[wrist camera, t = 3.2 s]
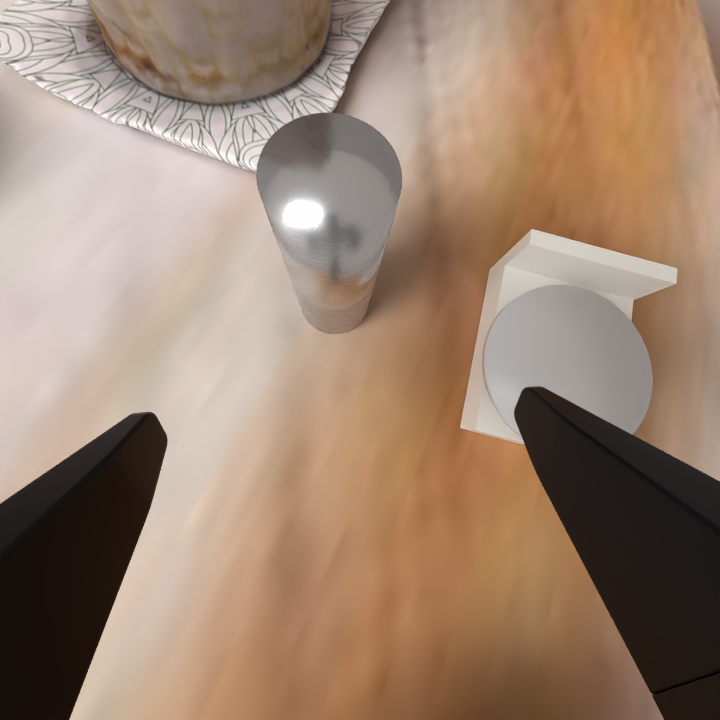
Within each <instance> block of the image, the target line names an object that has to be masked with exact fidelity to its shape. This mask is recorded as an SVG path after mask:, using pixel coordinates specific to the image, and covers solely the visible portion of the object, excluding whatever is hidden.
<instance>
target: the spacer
mask: <svg viewBox="0 0 720 720" xmlns="http://www.w3.org/2000/svg"><path fill="white" fill-rule="evenodd" d="M256 174H257V185H258V190H259V193H260V196H261V199H262V202H263V204H264V207H265V210H266V213H267V215H268V218H269V221H270V224H271V226H272V229H273V232H274V235H275V237H276V240H277V243H278V246H279V248H280V251H281V254H282V257H283V260H284V262H285V265H286V268H287V271H288V273H289V276H290V279H291V282H292V284H293V287H294V290H295V293H296V295H297V298H298V301H299V304H300V306H301V309H302V312H303V314H304V316H305V318H306V320H307V321H308V322H309V323H310V324H311V325H312V326H313V327H314V328H316V329H317V330H319V331H321V332H324V333H329V334H341V333H345V332H348V331H350V330H352V329H354V328H355V327H357V326H358V325H359V324H360V323H361V322H362V320H363V319H364V317H365V315H366V313H367V310H368V306H369V303H370V299H371V296H372V292H373V289H374V285H375V282H376V278H377V275H378V271H379V268H380V264H381V261H382V257H383V253H384V250H385V246H386V243H387V239H388V236H389V232H390V229H391V225H392V222H393V218H394V215H395V211H396V208H397V204H398V201H399V197H400V194H401V188H402V172H401V167H400V163H399V160H398V157H397V155H396V153H395V151H394V149H393V148H392V146H391V145H390V143H389V142H388V141H387V139H386V138H385V137H384V136H383V135H382V134H381V133H380V132H378V131H377V130H376V129H375V128H373V127H372V126H370V125H369V124H367V123H365V122H363V121H361V120H359V119H357V118H354V117H351V116H348V115H343V114H338V113H315V114H309V115H305V116H302V117H299V118H296V119H294V120H292V121H290V122H288V123H286V124H285V125H283V126H282V127H281V128H279V129H278V130H277V131H276V132H275V133H274V134H273V135H272V136H271V137H270V138H269V140H268V141H267V142H266V144H265V146H264V147H263V149H262V151H261V154H260V156H259V160H258V164H257V172H256Z"/></svg>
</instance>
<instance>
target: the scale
mask: <svg viewBox="0 0 720 720" xmlns="http://www.w3.org/2000/svg"><path fill="white" fill-rule="evenodd" d="M676 282H677V268H674V267H670V266H666V265H663V264H659V263H655V262H652V261H648V260H644V259H641V258H637V257H633V256H630V255H626V254H622V253H619V252H615V251H611V250H608V249H604V248H600V247H597V246H593V245H589V244H585V243H582V242H578V241H574V240H571V239H567V238H563V237H560V236H556V235H552V234H549V233H545V232H541V231H538V230H534V229H531V230H530V231H529V232H528V233H527V234H526V235H525V236H524V237H523V238H522V239H521V240H520V241H519V242H518V243H517V244H516V245H515V246H513V247H512V248H511V249H510V250H509V251H508V252H507V253H506V254H505V255H504V256H503V257H502V258H501V259H500V260H499V261H498V262H497V263H496V264H495V265H493V266H492V267H491V268H490V270H489V275H488V280H487V286H486V291H485V296H484V302H483V307H482V313H481V318H480V323H479V329H478V334H477V339H476V345H475V350H474V355H473V361H472V366H471V371H470V377H469V382H468V387H467V393H466V398H465V403H464V409H463V414H462V419H461V425H460V428H461V429H465V430H469V431H473V432H476V433H480V434H484V435H488V436H492V437H496V438H500V439H504V440H508V441H512V442H516V443H520V444H524V441H523V439H522V436H521V434H520V431H519V429H518V426H517V424H516V421H515V418H514V409H515V406H516V404H517V401H518V399H519V396H520V394H521V391H522V390H523V389H524V388H525V387H533V386H541V387H544V388H546V389H548V390H550V391H552V392H553V393H555V394H557V395H559V396H561V397H563V398H565V399H566V400H568V401H570V402H572V403H574V404H576V405H578V406H580V407H581V408H583V409H585V410H587V411H589V412H591V413H593V414H594V415H596V416H598V417H600V418H602V419H604V420H606V421H608V422H609V423H611V424H613V425H615V426H617V427H619V428H621V429H623V430H624V431H626V432H628V433H630V434H632V435H633V434H634V432H635V431H636V430H637V429H638V428H639V426H640V424H641V423H642V421H643V420H644V418H645V415H646V413H647V411H648V408H649V405H650V401H651V396H652V390H653V374H652V366H651V361H650V357H649V354H648V351H647V348H646V345H645V343H644V341H643V339H642V337H641V335H640V333H639V332H638V330H637V329H636V327H635V326H634V324H633V323H632V322H631V321H632V310H633V300H635V299H638V298H641V297H643V296H646V295H648V294H651V293H654V292H656V291H659V290H662V289H664V288H667V287H670V286H672V285H675V284H676ZM524 445H525V444H524Z"/></svg>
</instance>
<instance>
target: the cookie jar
mask: <svg viewBox="0 0 720 720" xmlns="http://www.w3.org/2000/svg"><path fill="white" fill-rule="evenodd" d="M389 2H390V0H17V2H16V3H14V4H13V5H11V6H10V7H9V8H8V9H5V10H4V14H3V15H0V61H1V62H3V63H5V64H7V65H8V66H10V67H12V68H13V69H14V70H16V71H17V72H18V73H20V74H21V75H22V76H24V77H26V78H27V79H29V80H31V81H32V82H34V83H35V84H37V85H38V86H40V87H42V88H43V89H45V90H46V91H48V92H49V93H51V94H53V95H55V96H57V97H59V98H62V99H64V100H67V101H70V102H72V103H74V104H75V105H77V106H78V107H82V108H86V109H91V110H93V111H94V112H95V113H96V114H98V115H100V116H102V117H104V118H106V119H108V120H110V121H111V122H113V123H115V124H125V125H128V126H131V127H134V128H136V129H139V130H142V131H144V132H147V133H149V134H152V135H154V136H157V137H159V138H162V139H164V140H167V141H169V142H172V143H174V144H177V145H179V146H182V147H184V148H187V149H190V150H193V151H195V152H198V153H201V154H204V155H207V156H209V157H212V158H215V159H218V160H221V161H224V162H226V163H229V164H231V165H234V166H237V167H239V168H242V169H245V170H247V171H250V172H253V173H256V172H257V164H258V160H259V156H260V154H261V151H262V149H263V147H264V146H265V144H266V142H267V141H268V140H269V138H270V137H271V136H272V135H273V134H274V133H275V132H276V131H277V130H278V129H279V128H281V127H282V126H283V125H285V124H286V123H288V122H290V121H292V120H294V119H296V118H299V117H302V116H305V115H309V114H315V113H332V112H333V110H334V109H335V108H336V106H337V104H338V101H339V99H340V97H341V96H342V94H343V92H344V91H345V86H346V82H347V79H348V76H349V73H350V69H351V67H352V65H353V63H354V62H355V60H356V58H357V56H358V54H359V53H360V51H361V50H362V48H363V46H364V44H365V42H366V40H367V38H368V37H369V35H370V33H371V31H372V30H373V28H374V27H375V25H376V24H377V22H378V21H379V19H380V18H381V15H382V13H383V11H384V9H385V8H386V6H387V5H388V4H389Z"/></svg>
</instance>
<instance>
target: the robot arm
mask: <svg viewBox="0 0 720 720" xmlns="http://www.w3.org/2000/svg"><path fill="white" fill-rule="evenodd" d="M514 418H515V421H516V424H517V426H518V429H519V431H520V434H521V436H522V439H523V441H524V444H525V446H526V449H527V452H528V454H529V457H530V459H531V462H532V464H533V466H534V469H535V471H536V473H537V475H538V477H539V479H540V481H541V483H542V485H543V487H544V489H545V491H546V493H547V495H548V497H549V499H550V501H551V502H552V504H553V506H554V508H555V510H556V512H557V514H558V516H559V518H560V520H561V522H562V524H563V525H564V527H565V529H566V531H567V533H568V535H569V537H570V539H571V541H572V543H573V545H574V547H575V548H576V550H577V552H578V554H579V556H580V558H581V560H582V562H583V564H584V566H585V568H586V570H587V571H588V573H589V575H590V577H591V579H592V581H593V583H594V585H595V587H596V589H597V591H598V593H599V594H600V596H601V598H602V600H603V602H604V604H605V606H606V608H607V610H608V612H609V614H610V616H611V617H612V619H613V621H614V623H615V625H616V627H617V629H618V631H619V633H620V635H621V637H622V639H623V640H624V642H625V644H626V646H627V648H628V650H629V652H630V654H631V656H632V658H633V660H634V662H635V663H636V665H637V667H638V669H639V671H640V673H641V675H642V677H643V679H644V681H645V683H646V685H647V686H648V688H649V690H650V692H651V693H652V696H653V699H654V700H655V702H656V704H657V706H658V708H659V710H660V712H661V714H662V716H663V718H664V720H720V481H718V480H716V479H714V478H712V477H710V476H708V475H707V474H705V473H703V472H701V471H699V470H697V469H695V468H694V467H692V466H690V465H688V464H686V463H684V462H682V461H680V460H679V459H677V458H675V457H673V456H671V455H669V454H667V453H666V452H664V451H662V450H660V449H658V448H656V447H654V446H652V445H651V444H649V443H647V442H645V441H643V440H641V439H639V438H637V437H636V436H634V435H632V434H630V433H628V432H626V431H624V430H623V429H621V428H619V427H617V426H615V425H613V424H611V423H609V422H608V421H606V420H604V419H602V418H600V417H598V416H596V415H594V414H593V413H591V412H589V411H587V410H585V409H583V408H581V407H580V406H578V405H576V404H574V403H572V402H570V401H568V400H566V399H565V398H563V397H561V396H559V395H557V394H555V393H553V392H552V391H550V390H548V389H546V388H544V387H541V386H533V387H525V388H524V389H523V390H522V391H521V394H520V396H519V399H518V401H517V404H516V406H515V409H514ZM166 448H167V435H166V433H165V431H164V429H163V427H162V426H161V424H160V422H159V420H158V418H157V416H156V415H155V414H154V413H152V412H142V413H133V414H131V415H129V416H128V417H126V418H125V419H123V420H122V421H120V422H119V423H117V424H116V425H115V426H113V427H112V428H110V429H109V430H107V431H106V432H104V433H103V434H101V435H100V436H98V437H97V438H96V439H94V440H93V441H91V442H90V443H88V444H87V445H85V446H84V447H82V448H81V449H79V450H78V451H77V452H75V453H74V454H72V455H71V456H69V457H68V458H66V459H65V460H63V461H62V462H60V463H59V464H58V465H56V466H55V467H53V468H52V469H50V470H49V471H47V472H46V473H44V474H43V475H41V476H40V477H39V478H37V479H36V480H34V481H33V482H31V483H30V484H28V485H27V486H25V487H24V488H23V489H21V490H20V491H18V492H17V493H15V494H14V495H12V496H11V497H9V498H8V499H6V500H5V501H4V502H2V503H1V504H0V720H69V719H70V716H71V714H72V711H73V708H74V706H75V703H76V701H77V698H78V695H79V693H80V690H81V688H82V685H83V682H84V680H85V677H86V675H87V672H88V669H89V667H90V664H91V662H92V659H93V656H94V654H95V651H96V648H97V646H98V643H99V641H100V638H101V635H102V633H103V630H104V628H105V625H106V622H107V620H108V617H109V615H110V612H111V609H112V607H113V604H114V602H115V599H116V596H117V594H118V591H119V589H120V586H121V583H122V581H123V578H124V575H125V573H126V570H127V568H128V565H129V562H130V560H131V557H132V555H133V552H134V549H135V547H136V544H137V542H138V539H139V536H140V534H141V531H142V529H143V526H144V523H145V521H146V518H147V515H148V512H149V510H150V507H151V503H152V500H153V497H154V493H155V489H156V485H157V482H158V478H159V474H160V470H161V466H162V463H163V459H164V455H165V451H166Z"/></svg>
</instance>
